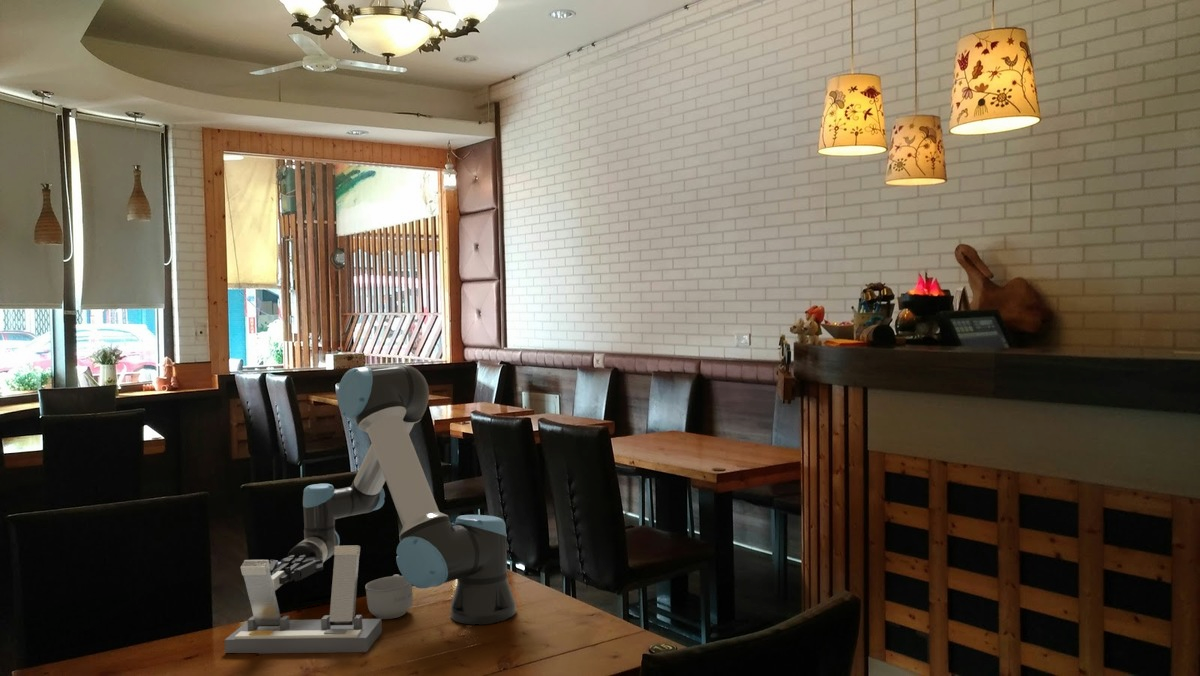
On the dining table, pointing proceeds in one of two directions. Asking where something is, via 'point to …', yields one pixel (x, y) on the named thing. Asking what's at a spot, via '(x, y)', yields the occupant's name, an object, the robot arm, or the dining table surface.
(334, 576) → the lever inner
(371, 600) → the teacup
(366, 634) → the grey stand base
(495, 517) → the robot arm
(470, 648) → the dining table surface
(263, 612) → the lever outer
